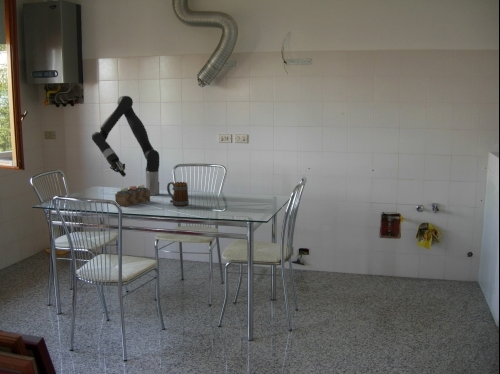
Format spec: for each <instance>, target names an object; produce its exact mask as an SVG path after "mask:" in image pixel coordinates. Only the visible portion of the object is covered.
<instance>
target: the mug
mask: <svg viewBox="0 0 500 374" xmlns="http://www.w3.org/2000/svg"><path fill="white" fill-rule="evenodd" d="M171 185H172V187H173V188H172V191H173V194H172V193H171V189H170V187H171ZM188 189H189V187H188V182H185V181H183V182H182V181H176V182H175V181H173V182H172V181H170V182H168V183H167V185H166V190H167V193H168V196H170V198H171V199H170V200H169V202H170V204H172V205H173V206H174V207H180V208H181V207H182V208H183V207H188V205H189V204H190V203H189V201H190V200H189V190H188Z"/></svg>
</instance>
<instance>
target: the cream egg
mask: <svg viewBox="0 0 500 374" xmlns="http://www.w3.org/2000/svg"><path fill="white" fill-rule="evenodd" d="M137 188H139V189H143V188H146V184H137Z"/></svg>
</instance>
